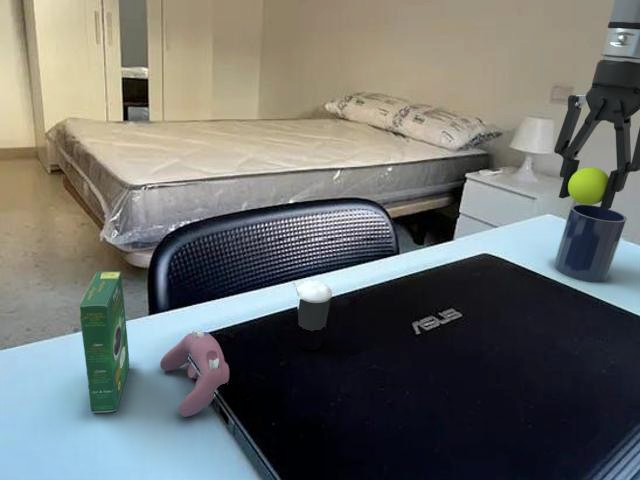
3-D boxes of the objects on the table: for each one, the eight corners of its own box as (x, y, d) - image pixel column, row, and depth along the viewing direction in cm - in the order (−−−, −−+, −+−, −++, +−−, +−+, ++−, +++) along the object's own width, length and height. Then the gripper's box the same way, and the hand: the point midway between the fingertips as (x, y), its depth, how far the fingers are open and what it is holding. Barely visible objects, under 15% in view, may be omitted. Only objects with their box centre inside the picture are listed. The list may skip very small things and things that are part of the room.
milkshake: (283, 337, 68) (287, 272, 64) (319, 332, 70) (325, 269, 66) (293, 357, 64) (298, 289, 60) (331, 351, 66) (338, 285, 62)
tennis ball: (602, 202, 87) (613, 166, 85) (606, 213, 82) (618, 175, 79) (563, 195, 90) (572, 161, 87) (564, 205, 84) (574, 168, 82)
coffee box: (105, 366, 60) (95, 268, 55) (131, 365, 60) (123, 268, 55) (89, 414, 53) (75, 306, 48) (118, 412, 53) (107, 306, 48)
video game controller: (215, 423, 55) (243, 369, 54) (177, 420, 52) (206, 363, 51) (189, 370, 63) (213, 323, 62) (155, 365, 60) (180, 315, 59)
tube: (603, 267, 100) (623, 210, 95) (609, 286, 91) (630, 226, 87) (553, 256, 103) (569, 200, 98) (554, 274, 95) (571, 214, 90)
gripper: (553, 54, 81) (521, 190, 90) (690, 66, 68) (635, 224, 77) (575, 55, 86) (542, 184, 95) (706, 67, 72) (653, 216, 81)
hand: (584, 202), depth 86 cm, fingers closed on tennis ball, 6 cm apart
